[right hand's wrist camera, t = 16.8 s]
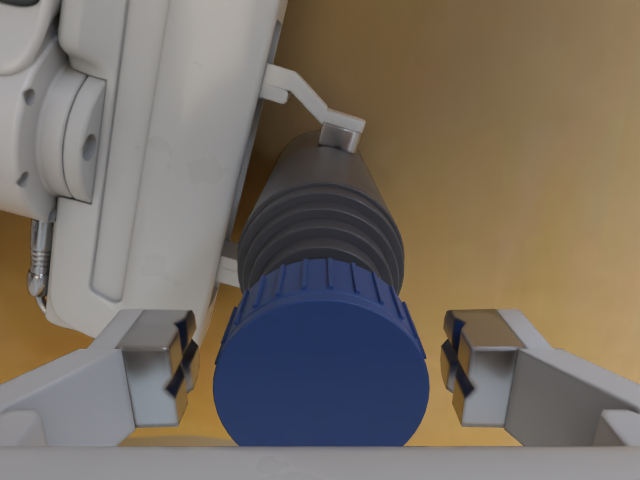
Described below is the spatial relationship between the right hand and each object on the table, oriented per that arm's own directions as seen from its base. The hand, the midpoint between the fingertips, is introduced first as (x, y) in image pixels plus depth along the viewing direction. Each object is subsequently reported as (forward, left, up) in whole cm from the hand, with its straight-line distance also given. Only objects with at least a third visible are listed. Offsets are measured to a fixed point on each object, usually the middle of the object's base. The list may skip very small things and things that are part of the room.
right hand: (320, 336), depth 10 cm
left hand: (-1, +1, -12) cm, 12 cm away
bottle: (0, 0, -17) cm, 17 cm away
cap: (0, 0, +2) cm, 2 cm away
